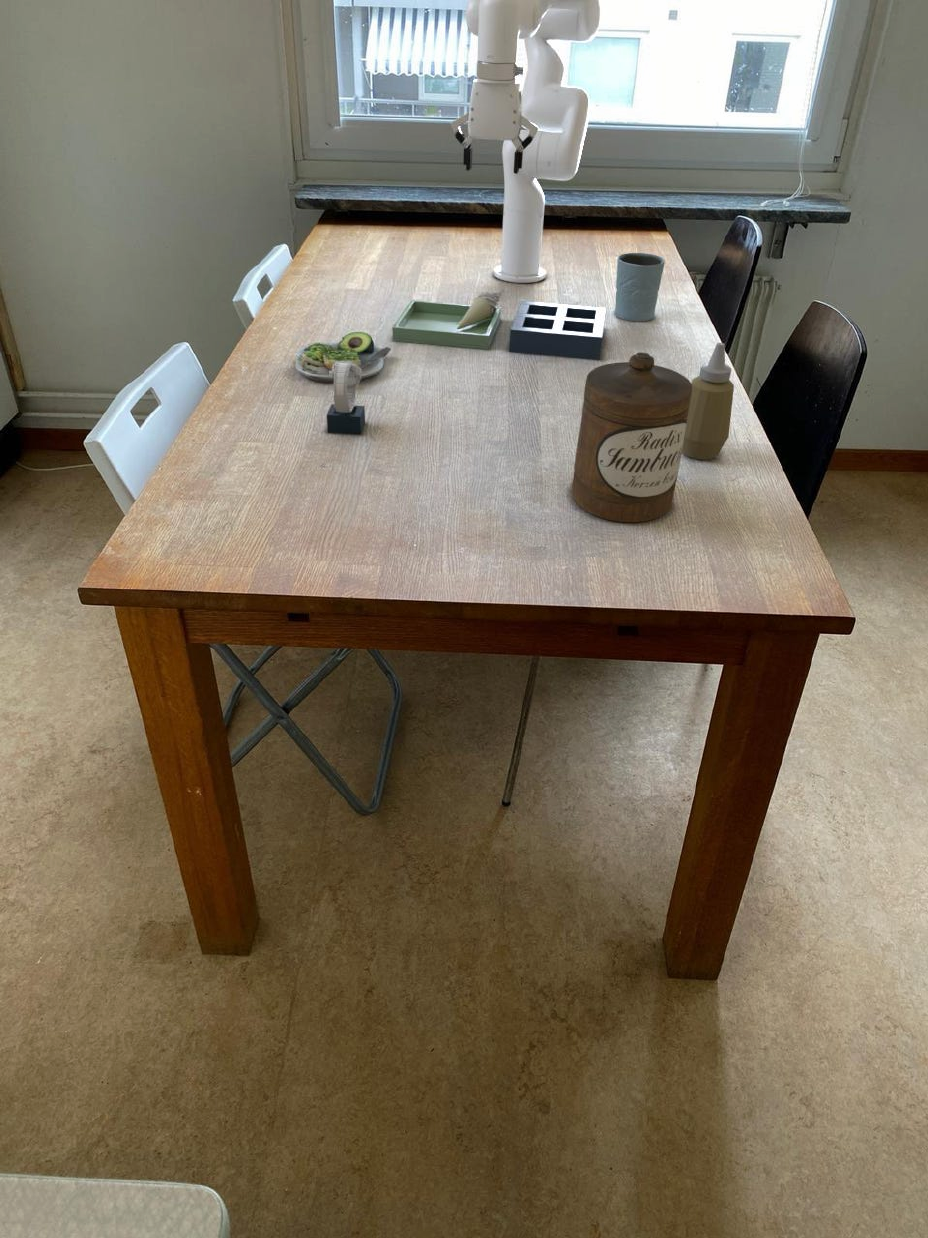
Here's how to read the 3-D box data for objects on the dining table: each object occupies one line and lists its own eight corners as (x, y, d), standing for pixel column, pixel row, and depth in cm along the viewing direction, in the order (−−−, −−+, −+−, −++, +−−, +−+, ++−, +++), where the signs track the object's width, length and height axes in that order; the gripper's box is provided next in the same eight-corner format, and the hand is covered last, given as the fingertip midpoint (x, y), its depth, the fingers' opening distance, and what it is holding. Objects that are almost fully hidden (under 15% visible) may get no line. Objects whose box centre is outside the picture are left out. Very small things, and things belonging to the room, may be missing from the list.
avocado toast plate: (389, 390, 165) (388, 365, 163) (289, 389, 165) (287, 364, 162) (391, 351, 181) (391, 328, 178) (300, 349, 180) (298, 326, 177)
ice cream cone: (445, 326, 192) (491, 289, 197) (463, 343, 192) (508, 306, 197) (451, 312, 187) (498, 274, 193) (469, 329, 187) (515, 291, 193)
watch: (367, 418, 156) (364, 355, 149) (359, 439, 149) (356, 374, 143) (334, 416, 156) (330, 353, 150) (325, 437, 150) (320, 372, 143)
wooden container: (603, 531, 128) (625, 381, 115) (553, 483, 139) (568, 341, 126) (692, 512, 133) (722, 366, 120) (637, 467, 144) (659, 329, 131)
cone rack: (519, 321, 197) (521, 300, 194) (603, 329, 195) (606, 307, 192) (508, 351, 183) (510, 329, 180) (599, 359, 181) (602, 337, 178)
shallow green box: (411, 312, 200) (411, 299, 198) (500, 320, 197) (500, 307, 196) (392, 340, 186) (392, 327, 184) (488, 349, 183) (488, 335, 182)
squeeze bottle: (729, 447, 151) (752, 340, 140) (718, 468, 145) (742, 357, 134) (680, 437, 153) (700, 331, 143) (668, 457, 147) (687, 347, 137)
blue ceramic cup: (636, 325, 197) (644, 268, 190) (600, 312, 203) (607, 256, 196) (665, 316, 203) (674, 260, 195) (630, 304, 209) (638, 249, 201)
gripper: (543, 72, 177) (537, 169, 187) (455, 67, 179) (453, 164, 189) (539, 77, 171) (533, 177, 181) (448, 72, 173) (446, 171, 183)
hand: (492, 170), depth 185 cm, fingers open, 9 cm apart
